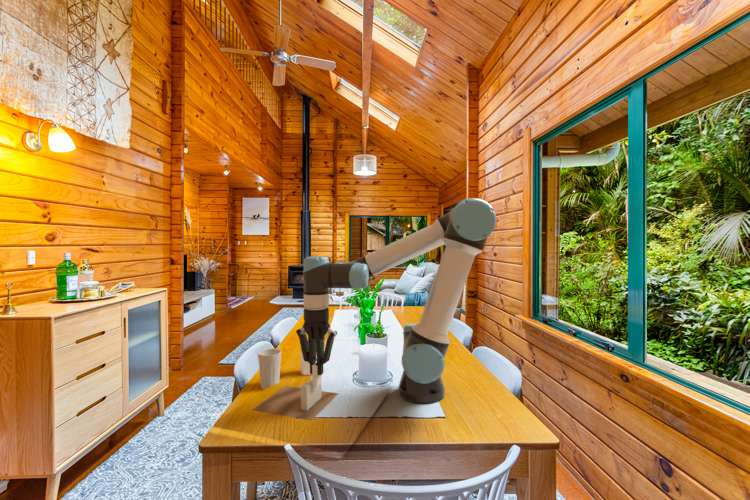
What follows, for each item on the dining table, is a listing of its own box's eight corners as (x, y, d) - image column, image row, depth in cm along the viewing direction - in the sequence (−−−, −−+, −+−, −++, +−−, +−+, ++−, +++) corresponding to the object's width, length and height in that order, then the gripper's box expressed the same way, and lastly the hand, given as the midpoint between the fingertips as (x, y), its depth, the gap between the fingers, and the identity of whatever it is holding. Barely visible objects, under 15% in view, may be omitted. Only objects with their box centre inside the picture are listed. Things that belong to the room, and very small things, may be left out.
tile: (321, 397, 112) (321, 375, 112) (307, 410, 103) (306, 386, 103) (315, 396, 112) (315, 375, 112) (300, 409, 104) (300, 386, 104)
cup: (275, 391, 120) (274, 356, 120) (253, 389, 121) (253, 354, 121) (285, 382, 128) (285, 349, 127) (265, 380, 129) (265, 348, 129)
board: (338, 397, 115) (338, 393, 115) (311, 424, 98) (311, 420, 98) (285, 389, 121) (285, 385, 121) (251, 413, 104) (251, 409, 104)
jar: (299, 372, 137) (298, 341, 137) (319, 368, 141) (319, 339, 140) (303, 380, 129) (303, 347, 129) (325, 376, 132) (325, 345, 132)
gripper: (341, 306, 108) (341, 382, 109) (303, 304, 112) (304, 377, 113) (330, 311, 101) (330, 392, 101) (290, 308, 105) (291, 386, 106)
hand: (316, 384), depth 107 cm, fingers closed
